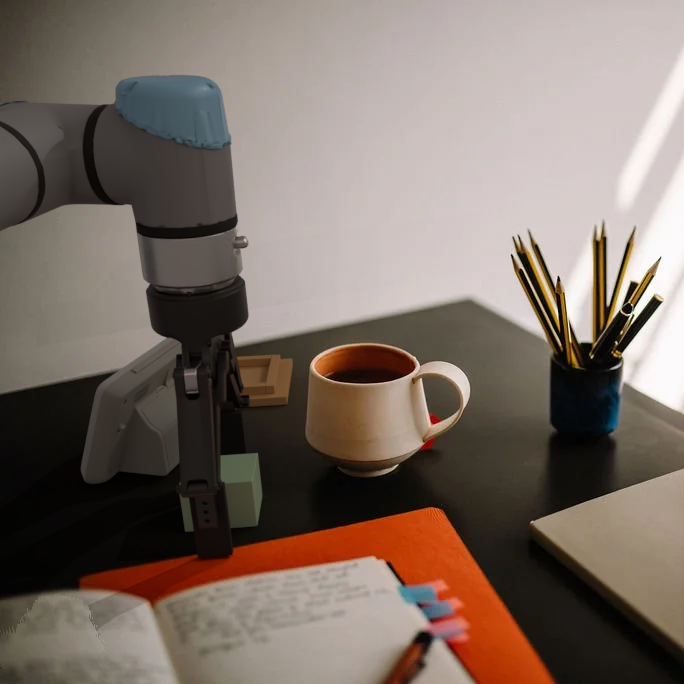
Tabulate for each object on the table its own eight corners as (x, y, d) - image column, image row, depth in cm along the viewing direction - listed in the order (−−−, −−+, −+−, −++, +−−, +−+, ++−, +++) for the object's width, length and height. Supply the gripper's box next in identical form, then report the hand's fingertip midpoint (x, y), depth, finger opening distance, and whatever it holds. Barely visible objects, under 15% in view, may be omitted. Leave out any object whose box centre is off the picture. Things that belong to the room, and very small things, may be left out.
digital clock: (175, 410, 99) (162, 318, 95) (243, 425, 95) (233, 331, 91) (55, 481, 85) (33, 377, 81) (130, 501, 81) (112, 394, 77)
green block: (184, 532, 77) (178, 486, 75) (194, 501, 82) (188, 457, 80) (257, 526, 78) (252, 481, 76) (262, 496, 83) (257, 452, 81)
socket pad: (174, 411, 98) (171, 395, 97) (190, 371, 108) (188, 355, 108) (287, 404, 100) (285, 388, 99) (293, 365, 110) (291, 350, 109)
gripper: (224, 332, 61) (256, 594, 69) (258, 236, 83) (279, 442, 91) (107, 338, 60) (153, 603, 68) (173, 239, 82) (202, 448, 90)
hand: (225, 511), depth 80 cm, fingers open, 12 cm apart
